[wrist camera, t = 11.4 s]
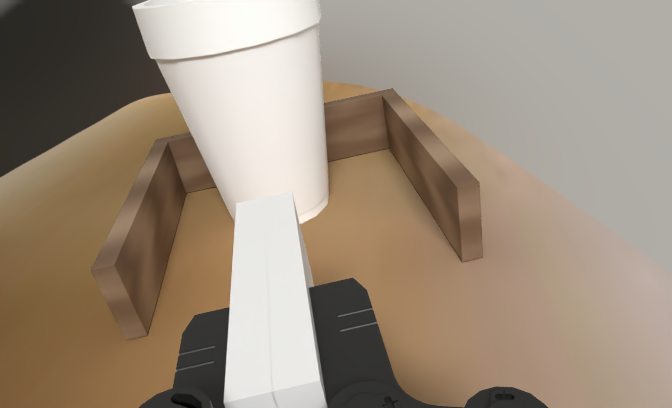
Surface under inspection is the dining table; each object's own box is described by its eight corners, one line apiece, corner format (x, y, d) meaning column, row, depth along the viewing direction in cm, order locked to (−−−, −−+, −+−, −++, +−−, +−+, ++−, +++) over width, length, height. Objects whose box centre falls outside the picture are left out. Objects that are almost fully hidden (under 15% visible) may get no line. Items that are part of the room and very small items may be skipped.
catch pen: (482, 257, 24) (479, 182, 22) (125, 340, 23) (90, 270, 22) (399, 140, 38) (392, 88, 36) (174, 190, 37) (155, 139, 36)
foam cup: (383, 187, 32) (350, -38, 26) (276, 264, 27) (202, 3, 20) (283, 163, 38) (237, -23, 32) (179, 222, 33) (99, 12, 27)
